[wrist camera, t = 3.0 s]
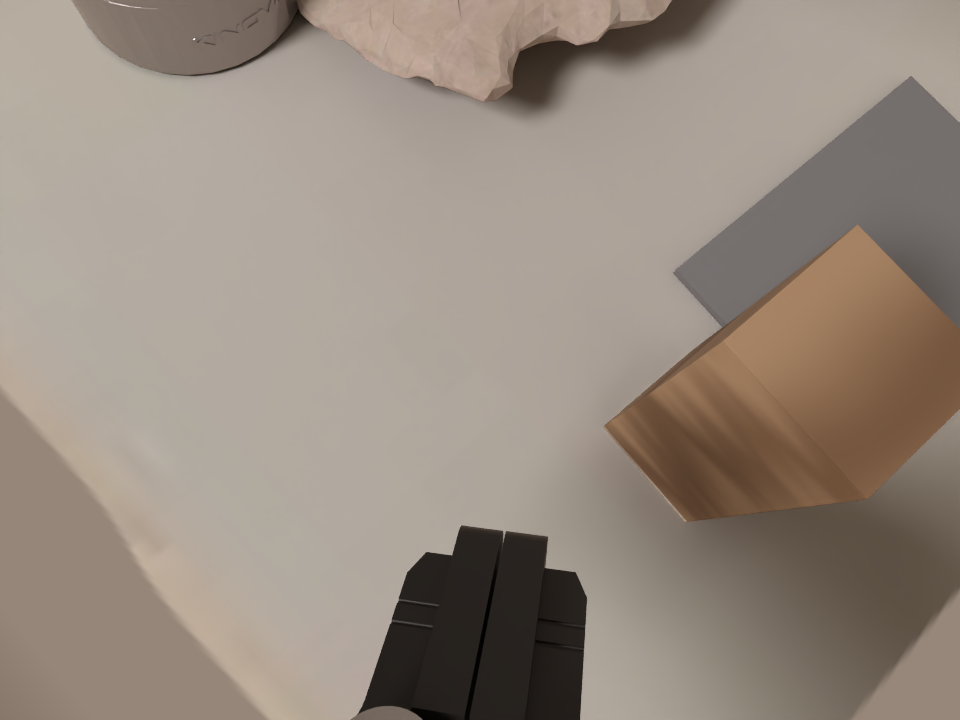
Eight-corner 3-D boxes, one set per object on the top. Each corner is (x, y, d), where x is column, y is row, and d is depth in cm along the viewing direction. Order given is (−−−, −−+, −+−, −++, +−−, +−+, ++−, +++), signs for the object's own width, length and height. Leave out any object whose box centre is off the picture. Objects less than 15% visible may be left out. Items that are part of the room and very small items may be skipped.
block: (602, 426, 29) (722, 341, 17) (688, 353, 30) (857, 224, 18) (685, 522, 28) (867, 498, 17) (770, 443, 29) (999, 370, 18)
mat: (673, 273, 31) (676, 269, 30) (905, 81, 34) (911, 76, 33) (854, 470, 29) (860, 469, 29) (1080, 252, 32) (1088, 248, 32)
